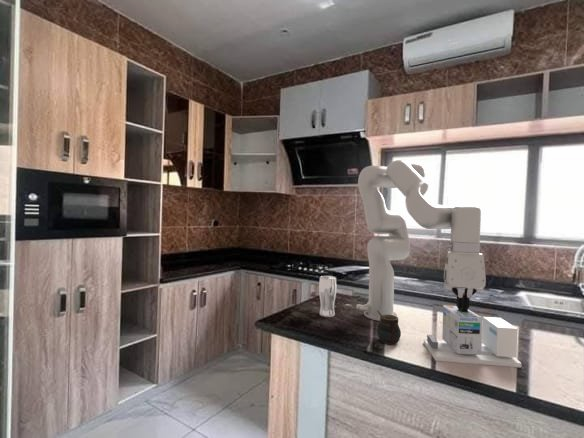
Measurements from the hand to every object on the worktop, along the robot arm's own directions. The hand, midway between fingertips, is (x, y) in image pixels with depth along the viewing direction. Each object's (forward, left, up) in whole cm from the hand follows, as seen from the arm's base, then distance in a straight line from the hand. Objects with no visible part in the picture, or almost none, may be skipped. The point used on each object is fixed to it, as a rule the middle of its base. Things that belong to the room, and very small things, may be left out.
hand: (462, 310), depth 93 cm
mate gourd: (-20, +5, -13) cm, 24 cm away
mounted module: (+10, 0, -11) cm, 15 cm away
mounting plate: (+2, 0, -13) cm, 13 cm away
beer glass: (-40, +28, -13) cm, 51 cm away
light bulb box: (0, 0, -11) cm, 11 cm away
